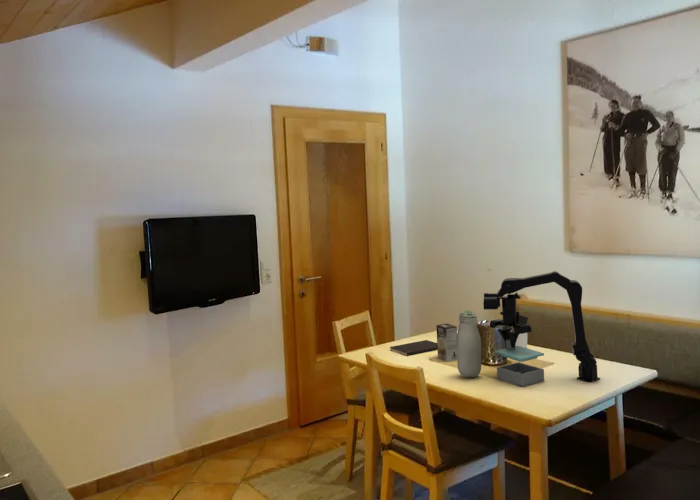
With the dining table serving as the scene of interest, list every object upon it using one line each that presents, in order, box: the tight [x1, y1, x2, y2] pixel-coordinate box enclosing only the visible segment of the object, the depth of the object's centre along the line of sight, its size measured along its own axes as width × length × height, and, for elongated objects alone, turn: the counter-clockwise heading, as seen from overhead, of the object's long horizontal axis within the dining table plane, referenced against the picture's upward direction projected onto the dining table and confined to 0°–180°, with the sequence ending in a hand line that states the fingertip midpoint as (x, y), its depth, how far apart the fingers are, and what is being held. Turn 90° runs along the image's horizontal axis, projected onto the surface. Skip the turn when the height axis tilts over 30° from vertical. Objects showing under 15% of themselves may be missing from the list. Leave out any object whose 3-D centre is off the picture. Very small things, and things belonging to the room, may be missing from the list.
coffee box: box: [436, 323, 458, 363], centre depth 286 cm, size 9×6×16 cm
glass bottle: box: [456, 310, 482, 378], centre depth 255 cm, size 10×10×28 cm
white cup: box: [511, 330, 528, 348], centre depth 292 cm, size 8×8×10 cm
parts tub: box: [496, 361, 545, 388], centre depth 247 cm, size 14×12×5 cm
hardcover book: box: [389, 339, 438, 357], centre depth 309 cm, size 16×23×2 cm
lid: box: [494, 339, 545, 363], centre depth 246 cm, size 15×13×6 cm
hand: (510, 346), depth 250 cm, fingers closed on lid, 2 cm apart
